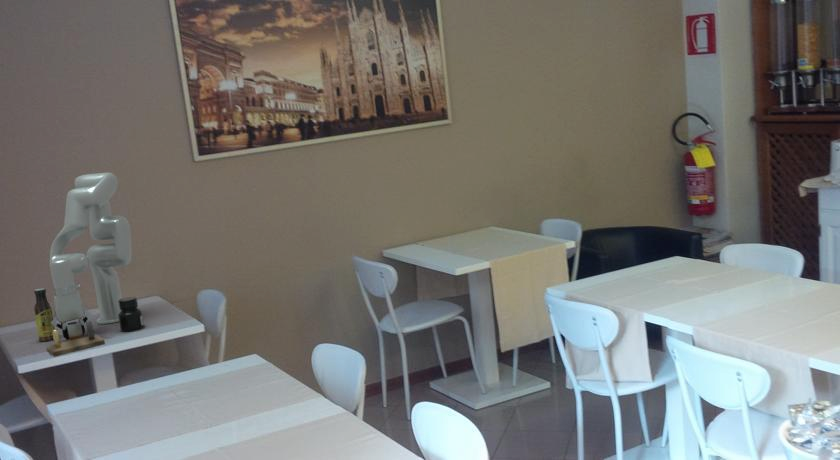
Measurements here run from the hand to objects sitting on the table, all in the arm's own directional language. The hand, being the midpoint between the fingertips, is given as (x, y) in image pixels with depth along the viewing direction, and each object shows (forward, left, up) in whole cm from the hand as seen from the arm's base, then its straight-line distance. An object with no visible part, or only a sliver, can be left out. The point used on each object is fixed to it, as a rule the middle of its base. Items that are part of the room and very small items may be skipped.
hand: (74, 336), depth 344 cm
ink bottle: (-21, +4, -2) cm, 21 cm away
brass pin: (+8, +11, -1) cm, 14 cm away
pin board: (+2, +11, -1) cm, 12 cm away
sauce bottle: (+7, -13, -2) cm, 15 cm away
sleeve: (0, 0, -1) cm, 1 cm away
